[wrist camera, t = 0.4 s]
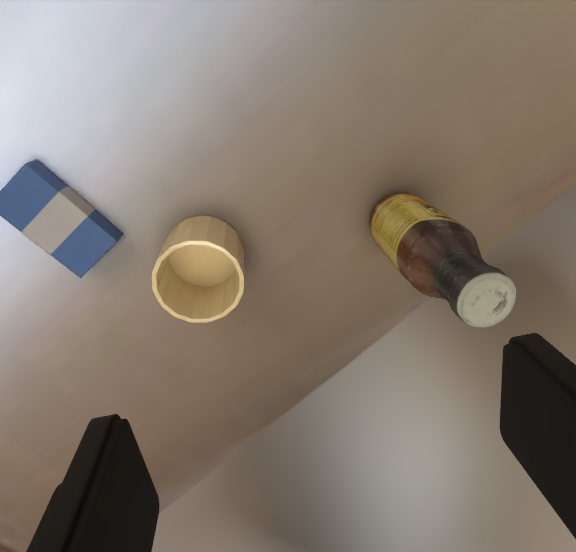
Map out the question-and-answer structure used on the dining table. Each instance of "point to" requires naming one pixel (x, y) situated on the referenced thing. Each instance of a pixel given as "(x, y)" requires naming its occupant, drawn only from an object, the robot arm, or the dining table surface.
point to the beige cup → (200, 270)
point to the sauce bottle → (441, 259)
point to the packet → (56, 218)
